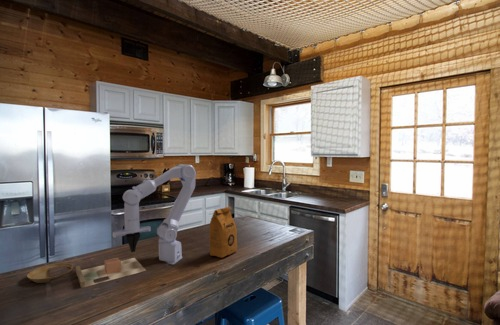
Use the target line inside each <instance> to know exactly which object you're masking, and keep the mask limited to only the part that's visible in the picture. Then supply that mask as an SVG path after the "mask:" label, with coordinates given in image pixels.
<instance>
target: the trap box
mask: <svg viewBox="0 0 500 325" xmlns="http://www.w3.org/2000/svg"><path fill="white" fill-rule="evenodd" d="M120 261H121V271H119V272H115V273H111V274H107V273H106V272H105V265H104V264H102V265H98V266H93V267H90V268H86V269H82V268H81V266H80V265H77V266H75V273H76V276H77V279H78V283H79V285H80V289H83V288H86V287H91V286H94V285H98V284H100V283H101V284H102V283H105V282H109V281H113V280H116V279H121V278H123V277H128V276H132V275H135V274H138V273H143V272H147V270H146V268H145V267H144V266H143V265H142V264H141V263H140V262H139V261H138V260H137V259H136V258H135V257H132V258H127V259H124V260H120ZM105 277H107V278H108V279H105V280H101V281H97V282H94V280H98V279H102V278H105Z"/></svg>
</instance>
